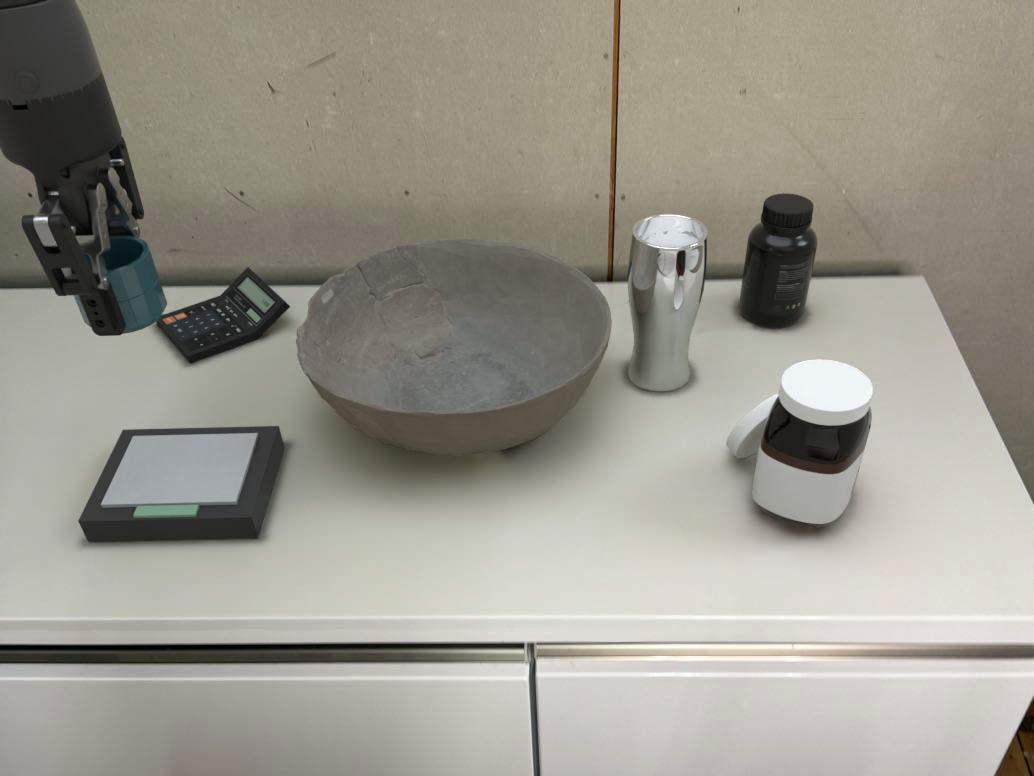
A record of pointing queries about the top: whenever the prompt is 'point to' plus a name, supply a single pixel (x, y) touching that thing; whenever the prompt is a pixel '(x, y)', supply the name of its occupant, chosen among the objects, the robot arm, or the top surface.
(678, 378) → the beer glass
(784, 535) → the top surface
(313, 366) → the bowl
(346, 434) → the top surface
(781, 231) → the supplement bottle
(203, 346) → the calculator
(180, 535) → the kitchen scale
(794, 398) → the spread jar
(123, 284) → the teal cup
